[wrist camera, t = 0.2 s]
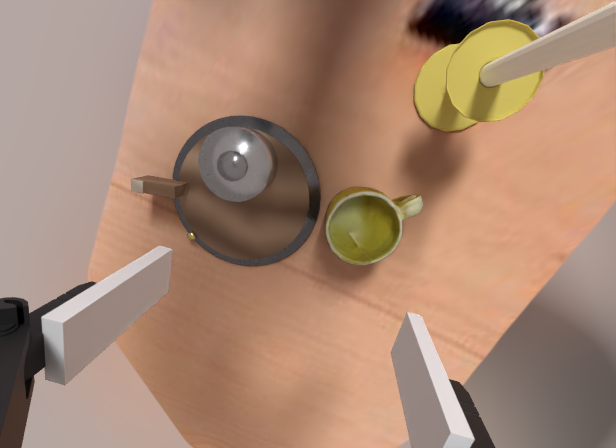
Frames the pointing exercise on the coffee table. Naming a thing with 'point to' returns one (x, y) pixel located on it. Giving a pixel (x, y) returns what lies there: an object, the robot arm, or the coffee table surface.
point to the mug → (367, 223)
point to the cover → (237, 163)
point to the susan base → (292, 146)
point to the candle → (502, 68)
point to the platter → (239, 207)
